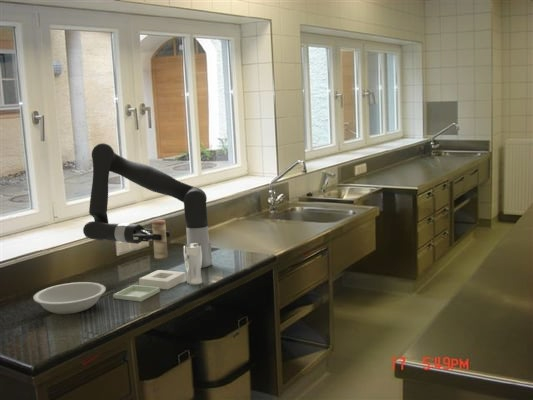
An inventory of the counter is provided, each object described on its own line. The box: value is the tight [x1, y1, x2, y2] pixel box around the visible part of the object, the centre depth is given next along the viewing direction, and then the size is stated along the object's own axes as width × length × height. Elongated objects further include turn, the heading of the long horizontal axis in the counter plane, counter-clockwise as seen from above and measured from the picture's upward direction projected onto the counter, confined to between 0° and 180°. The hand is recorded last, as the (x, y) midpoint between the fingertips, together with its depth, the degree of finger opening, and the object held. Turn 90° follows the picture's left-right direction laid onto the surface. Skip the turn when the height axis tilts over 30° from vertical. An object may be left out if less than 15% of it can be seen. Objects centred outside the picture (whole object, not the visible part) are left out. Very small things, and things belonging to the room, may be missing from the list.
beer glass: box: [183, 243, 203, 286], centre depth 243 cm, size 7×7×15 cm
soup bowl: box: [32, 281, 107, 315], centre depth 218 cm, size 24×24×7 cm
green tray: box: [112, 284, 161, 302], centre depth 231 cm, size 12×12×2 cm
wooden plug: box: [151, 219, 168, 259], centre depth 242 cm, size 5×5×14 cm
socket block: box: [138, 269, 187, 290], centre depth 244 cm, size 13×13×4 cm
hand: (165, 235), depth 240 cm, fingers closed on wooden plug, 5 cm apart
